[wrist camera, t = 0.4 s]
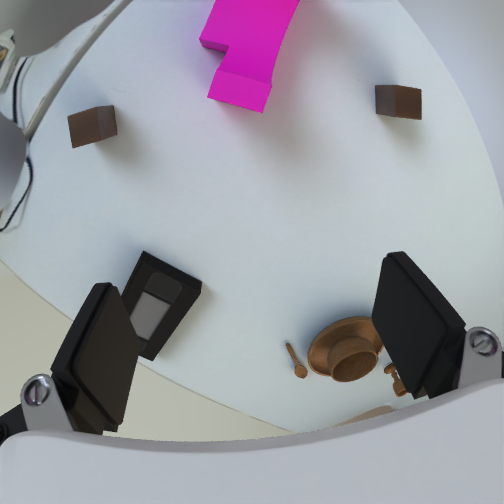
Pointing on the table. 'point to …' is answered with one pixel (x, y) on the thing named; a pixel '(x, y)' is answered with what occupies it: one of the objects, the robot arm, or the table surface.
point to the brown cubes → (104, 126)
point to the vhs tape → (157, 301)
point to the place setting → (347, 352)
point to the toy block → (246, 48)
